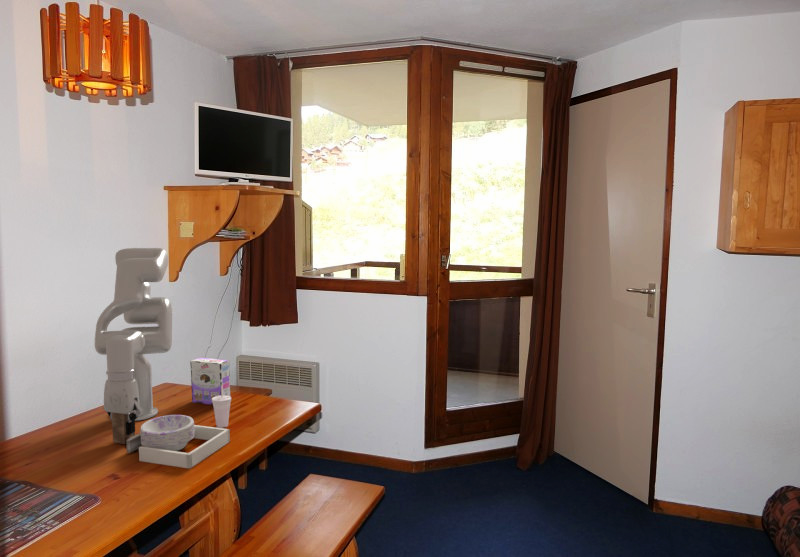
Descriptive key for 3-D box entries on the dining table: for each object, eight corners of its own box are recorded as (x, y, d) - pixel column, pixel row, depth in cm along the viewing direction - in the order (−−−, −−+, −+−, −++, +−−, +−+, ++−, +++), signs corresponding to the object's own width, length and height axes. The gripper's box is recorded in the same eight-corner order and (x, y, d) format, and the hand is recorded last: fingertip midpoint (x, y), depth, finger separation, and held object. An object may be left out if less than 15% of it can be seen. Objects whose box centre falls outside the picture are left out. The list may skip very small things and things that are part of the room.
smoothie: (235, 422, 194) (234, 383, 192) (227, 429, 188) (226, 388, 186) (217, 421, 195) (216, 382, 193) (209, 428, 188) (207, 388, 187)
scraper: (100, 448, 171) (99, 416, 170) (134, 431, 184) (133, 401, 183) (130, 453, 168) (128, 420, 166) (162, 435, 181) (161, 405, 180)
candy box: (231, 401, 216) (230, 359, 214) (221, 406, 210) (220, 363, 208) (201, 397, 220) (200, 356, 218) (191, 402, 215) (189, 360, 213)
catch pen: (139, 460, 163) (138, 447, 163) (183, 435, 182) (183, 423, 182) (189, 468, 159) (189, 454, 158) (229, 441, 178) (229, 429, 177)
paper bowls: (143, 462, 162) (142, 436, 161) (139, 443, 176) (138, 419, 175) (198, 452, 170) (198, 426, 169) (190, 435, 183) (190, 411, 182)
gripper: (89, 376, 173) (92, 433, 175) (134, 381, 168) (137, 440, 170) (108, 370, 180) (111, 425, 182) (152, 374, 176) (154, 431, 178)
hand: (124, 431), depth 176 cm, fingers closed on scraper, 4 cm apart
